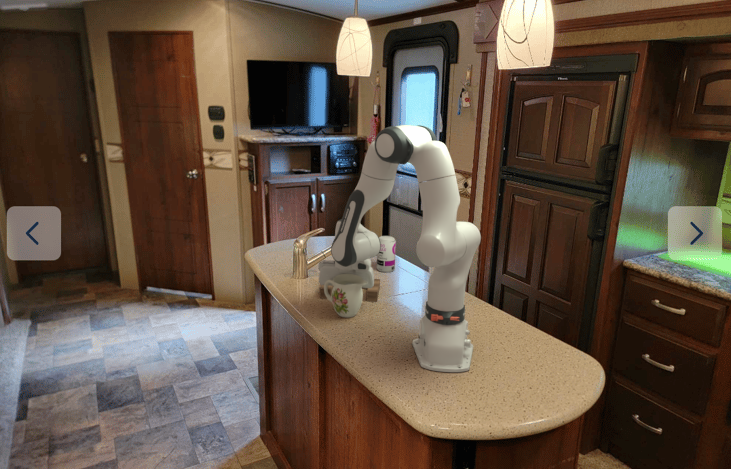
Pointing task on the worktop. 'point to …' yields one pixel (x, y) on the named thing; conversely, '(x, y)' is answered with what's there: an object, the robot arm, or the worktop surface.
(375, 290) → the holder
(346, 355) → the worktop surface
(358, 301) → the pitcher
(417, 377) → the worktop surface
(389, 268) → the supplement can
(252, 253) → the worktop surface
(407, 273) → the worktop surface
